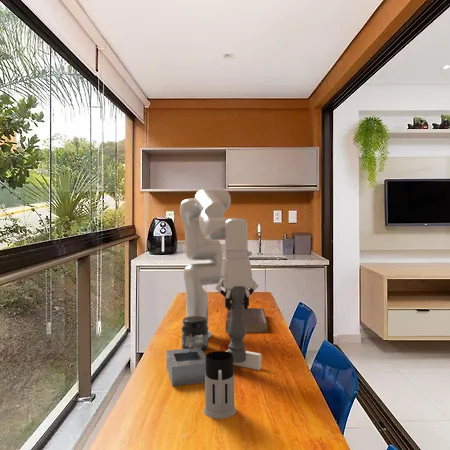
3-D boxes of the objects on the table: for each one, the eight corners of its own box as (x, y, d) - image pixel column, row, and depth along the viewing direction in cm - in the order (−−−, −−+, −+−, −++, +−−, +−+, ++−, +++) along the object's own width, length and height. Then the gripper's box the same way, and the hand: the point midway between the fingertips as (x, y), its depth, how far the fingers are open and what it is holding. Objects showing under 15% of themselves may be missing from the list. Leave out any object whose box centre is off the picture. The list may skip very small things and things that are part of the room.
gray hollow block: (166, 367, 143) (166, 350, 143) (200, 364, 146) (200, 347, 146) (172, 386, 127) (171, 366, 127) (210, 381, 130) (209, 363, 130)
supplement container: (192, 343, 170) (191, 314, 169) (213, 347, 164) (213, 317, 164) (176, 350, 161) (175, 320, 160) (198, 355, 155) (198, 323, 155)
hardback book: (267, 333, 184) (267, 322, 184) (225, 333, 185) (225, 322, 185) (264, 317, 213) (264, 307, 213) (228, 317, 214) (227, 307, 214)
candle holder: (230, 363, 136) (231, 287, 135) (225, 357, 142) (225, 284, 141) (248, 362, 137) (248, 287, 137) (242, 355, 143) (243, 284, 143)
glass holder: (235, 402, 116) (234, 349, 115) (238, 429, 101) (238, 368, 101) (204, 403, 115) (203, 350, 115) (202, 430, 101) (202, 369, 101)
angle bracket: (208, 364, 146) (207, 350, 145) (253, 359, 150) (253, 346, 150) (214, 374, 136) (214, 359, 136) (262, 369, 140) (262, 354, 140)
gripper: (257, 253, 144) (257, 305, 145) (209, 255, 140) (209, 308, 141) (264, 255, 137) (264, 309, 138) (214, 257, 133) (214, 313, 133)
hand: (237, 308), depth 139 cm, fingers closed on candle holder, 5 cm apart
